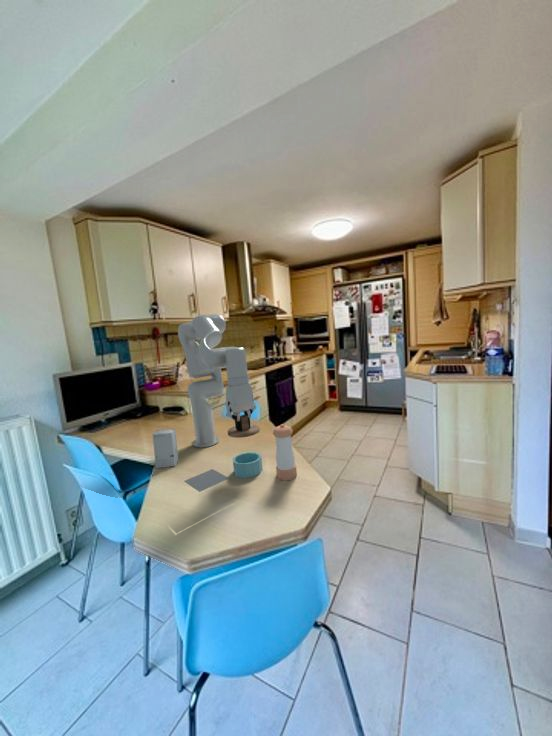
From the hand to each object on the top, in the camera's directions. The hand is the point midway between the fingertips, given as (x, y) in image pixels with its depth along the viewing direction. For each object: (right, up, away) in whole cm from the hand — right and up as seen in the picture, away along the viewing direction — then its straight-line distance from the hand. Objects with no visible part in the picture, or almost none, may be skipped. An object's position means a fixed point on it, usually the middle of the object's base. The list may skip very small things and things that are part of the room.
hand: (243, 428), depth 114 cm
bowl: (+2, -17, +2) cm, 17 cm away
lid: (0, -1, 0) cm, 1 cm away
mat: (-13, -19, -2) cm, 23 cm away
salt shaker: (+16, -16, -4) cm, 23 cm away
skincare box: (-34, -19, +16) cm, 42 cm away
